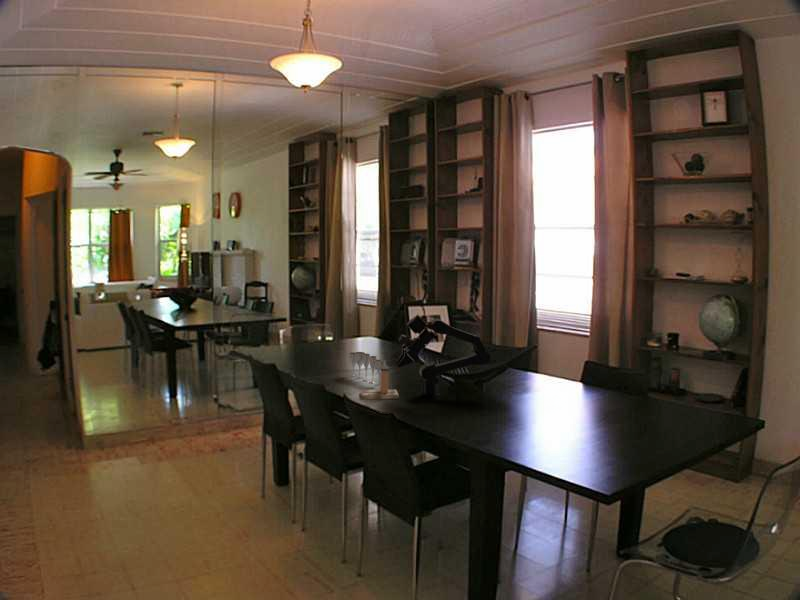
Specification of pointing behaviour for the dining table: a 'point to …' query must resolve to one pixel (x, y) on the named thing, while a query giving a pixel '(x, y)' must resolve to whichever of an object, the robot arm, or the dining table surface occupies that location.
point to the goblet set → (366, 364)
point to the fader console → (379, 394)
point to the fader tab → (384, 379)
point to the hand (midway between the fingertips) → (397, 365)
